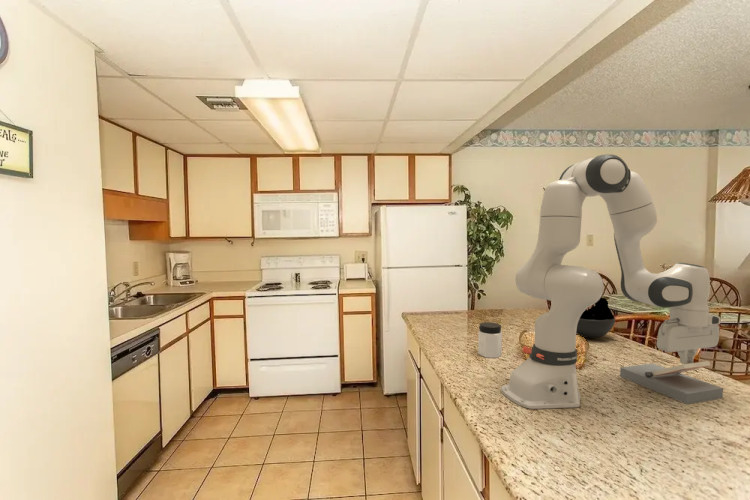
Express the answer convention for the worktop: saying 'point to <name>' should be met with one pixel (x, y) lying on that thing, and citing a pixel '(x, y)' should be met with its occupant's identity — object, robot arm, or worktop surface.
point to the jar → (490, 340)
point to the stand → (672, 384)
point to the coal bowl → (596, 320)
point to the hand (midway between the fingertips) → (686, 363)
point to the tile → (681, 368)
